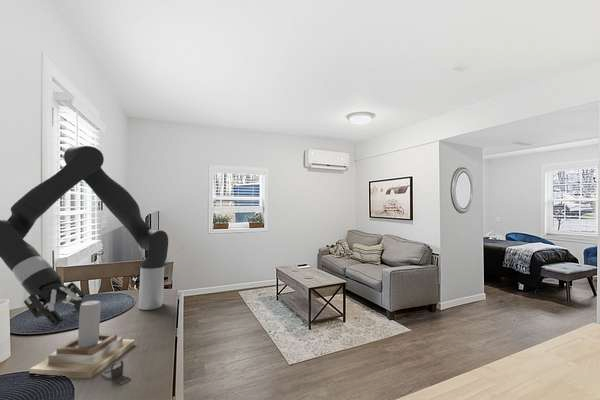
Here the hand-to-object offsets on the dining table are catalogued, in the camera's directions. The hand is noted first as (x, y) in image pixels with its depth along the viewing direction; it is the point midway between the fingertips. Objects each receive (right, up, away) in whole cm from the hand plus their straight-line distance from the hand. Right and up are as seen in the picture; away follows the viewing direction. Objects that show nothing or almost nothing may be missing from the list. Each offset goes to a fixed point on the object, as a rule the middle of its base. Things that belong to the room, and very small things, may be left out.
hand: (72, 317), depth 81 cm
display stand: (+5, -11, -1) cm, 12 cm away
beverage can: (+4, -8, 0) cm, 9 cm away
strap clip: (+18, -12, -9) cm, 24 cm away
